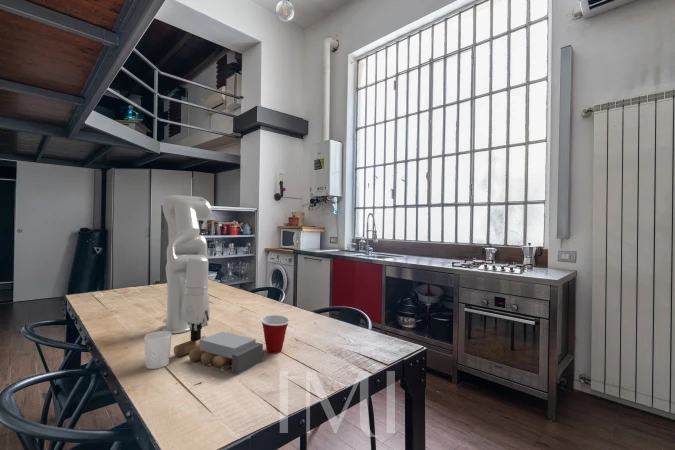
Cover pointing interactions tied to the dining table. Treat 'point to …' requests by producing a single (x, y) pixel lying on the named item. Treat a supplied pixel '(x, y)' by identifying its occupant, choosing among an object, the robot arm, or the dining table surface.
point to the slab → (225, 344)
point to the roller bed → (194, 352)
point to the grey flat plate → (221, 366)
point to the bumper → (247, 358)
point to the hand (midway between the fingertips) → (195, 340)
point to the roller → (220, 361)
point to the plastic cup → (274, 332)
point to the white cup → (157, 349)
